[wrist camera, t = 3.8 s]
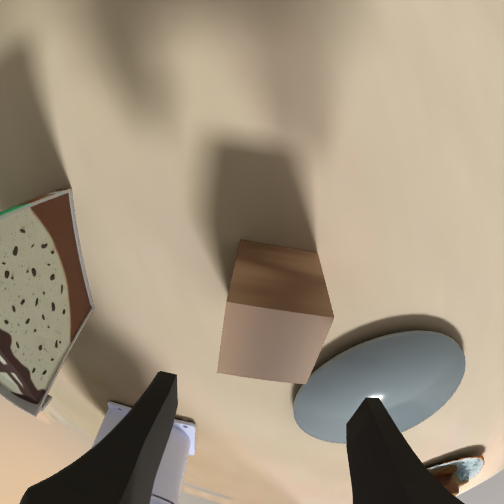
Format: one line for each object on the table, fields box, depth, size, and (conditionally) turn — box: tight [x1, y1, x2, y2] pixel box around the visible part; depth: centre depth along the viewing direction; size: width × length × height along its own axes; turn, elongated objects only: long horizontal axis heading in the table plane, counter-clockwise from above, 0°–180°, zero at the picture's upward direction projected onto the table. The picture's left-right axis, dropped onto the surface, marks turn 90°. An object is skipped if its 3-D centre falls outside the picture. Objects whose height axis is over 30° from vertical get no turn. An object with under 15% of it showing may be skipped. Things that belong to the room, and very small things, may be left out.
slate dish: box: [293, 330, 465, 444], centre depth 23 cm, size 16×16×1 cm
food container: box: [0, 188, 94, 417], centre depth 14 cm, size 12×6×10 cm, turn 177°
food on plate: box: [427, 454, 484, 496], centre depth 35 cm, size 25×25×7 cm
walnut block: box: [217, 240, 334, 384], centre depth 16 cm, size 4×4×6 cm
